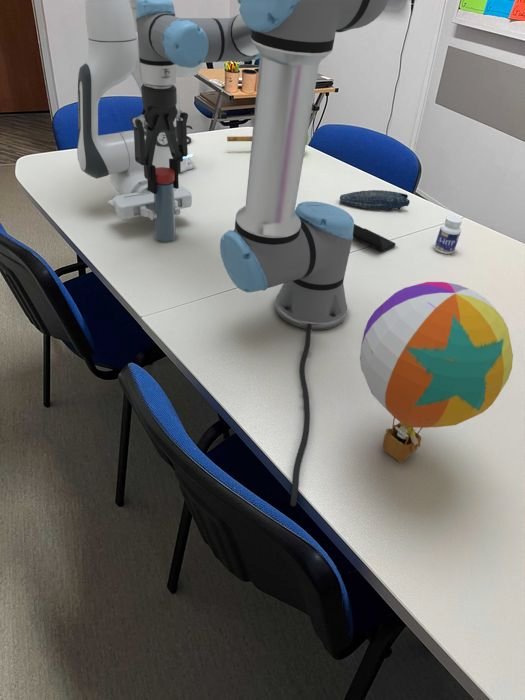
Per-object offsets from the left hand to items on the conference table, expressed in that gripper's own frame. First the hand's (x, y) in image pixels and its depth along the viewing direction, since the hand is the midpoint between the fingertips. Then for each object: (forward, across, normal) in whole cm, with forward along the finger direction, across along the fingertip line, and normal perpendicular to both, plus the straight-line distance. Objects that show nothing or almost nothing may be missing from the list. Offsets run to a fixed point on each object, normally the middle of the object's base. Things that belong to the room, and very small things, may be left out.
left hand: (166, 214), depth 129 cm
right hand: (-1, 0, -6) cm, 6 cm away
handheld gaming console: (+25, +47, +7) cm, 54 cm away
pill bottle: (+37, +64, +7) cm, 74 cm away
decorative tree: (-46, +62, +7) cm, 78 cm away
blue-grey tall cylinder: (-1, 0, +7) cm, 7 cm away
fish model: (+7, +66, +7) cm, 66 cm away
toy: (+82, +1, +7) cm, 82 cm away
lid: (-1, 0, -10) cm, 10 cm away
